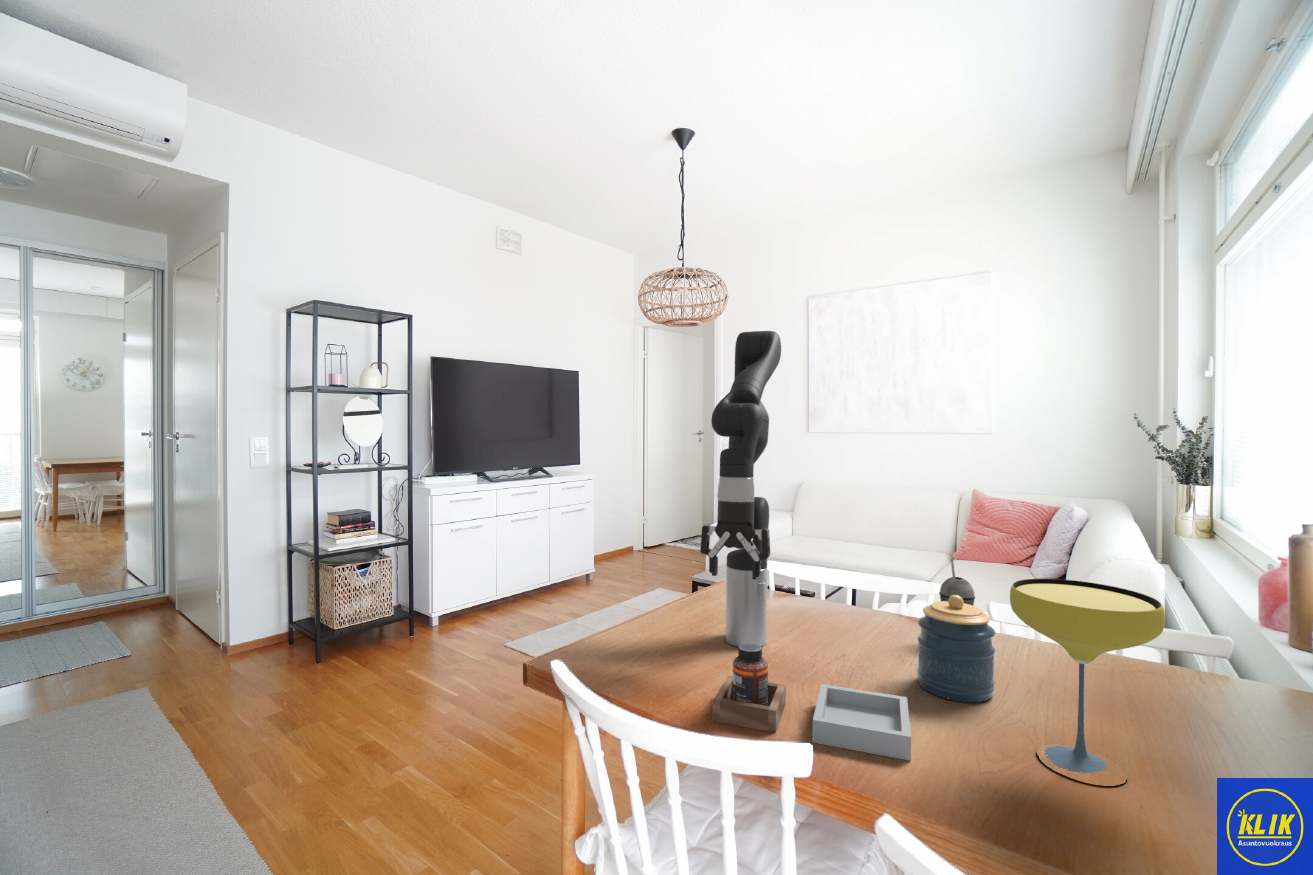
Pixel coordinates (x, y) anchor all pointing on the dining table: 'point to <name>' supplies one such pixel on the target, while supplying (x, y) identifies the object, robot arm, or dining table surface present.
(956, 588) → the beverage cup
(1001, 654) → the dining table surface
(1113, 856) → the dining table surface
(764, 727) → the socket block
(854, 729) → the tray
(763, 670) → the supplement bottle
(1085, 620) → the cocktail glass
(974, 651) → the canister
